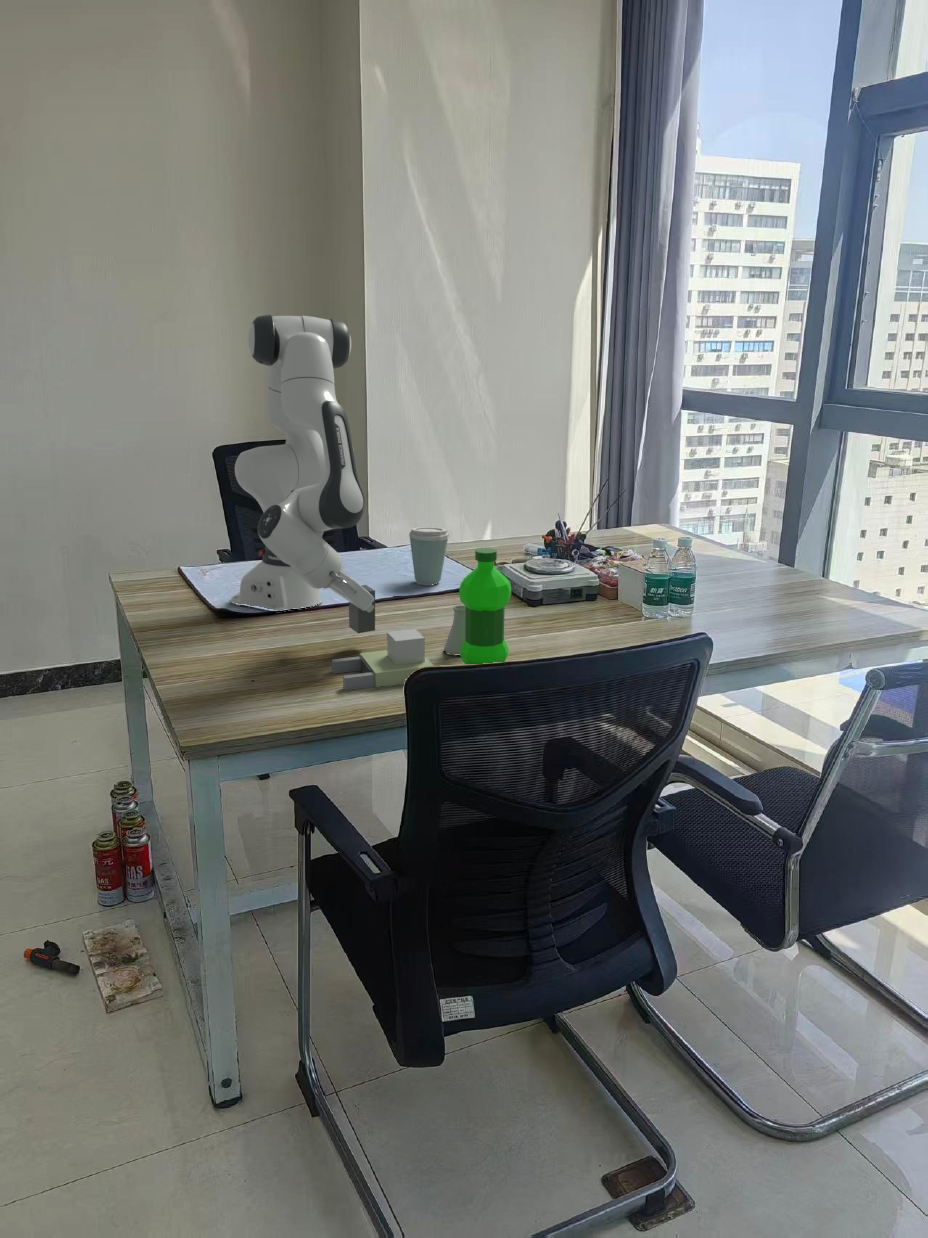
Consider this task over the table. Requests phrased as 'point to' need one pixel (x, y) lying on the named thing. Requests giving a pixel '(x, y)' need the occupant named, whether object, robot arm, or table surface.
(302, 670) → the table surface
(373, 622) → the chute block
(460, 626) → the flask
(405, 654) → the pronged platform block
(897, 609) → the table surface
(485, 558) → the plastic bottle
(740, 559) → the table surface
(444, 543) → the disposable coffee cup
